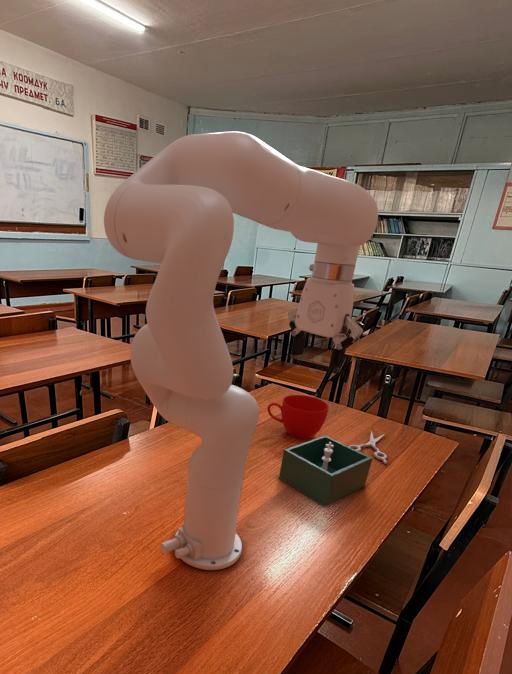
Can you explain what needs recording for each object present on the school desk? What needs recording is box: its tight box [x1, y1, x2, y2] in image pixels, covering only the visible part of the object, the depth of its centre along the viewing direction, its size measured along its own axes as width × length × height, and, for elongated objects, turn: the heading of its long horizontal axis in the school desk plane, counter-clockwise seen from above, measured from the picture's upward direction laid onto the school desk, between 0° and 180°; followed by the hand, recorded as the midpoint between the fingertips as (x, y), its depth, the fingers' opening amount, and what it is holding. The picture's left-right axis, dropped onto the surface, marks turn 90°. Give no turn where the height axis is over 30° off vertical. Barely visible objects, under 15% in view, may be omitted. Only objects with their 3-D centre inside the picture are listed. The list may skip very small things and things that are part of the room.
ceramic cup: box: [267, 394, 330, 440], centre depth 127 cm, size 13×17×10 cm
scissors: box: [348, 429, 388, 465], centre depth 125 cm, size 11×1×20 cm
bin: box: [278, 435, 374, 507], centre depth 103 cm, size 16×14×8 cm
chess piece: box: [321, 442, 334, 471], centre depth 102 cm, size 5×5×10 cm
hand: (315, 361), depth 89 cm, fingers open, 9 cm apart
